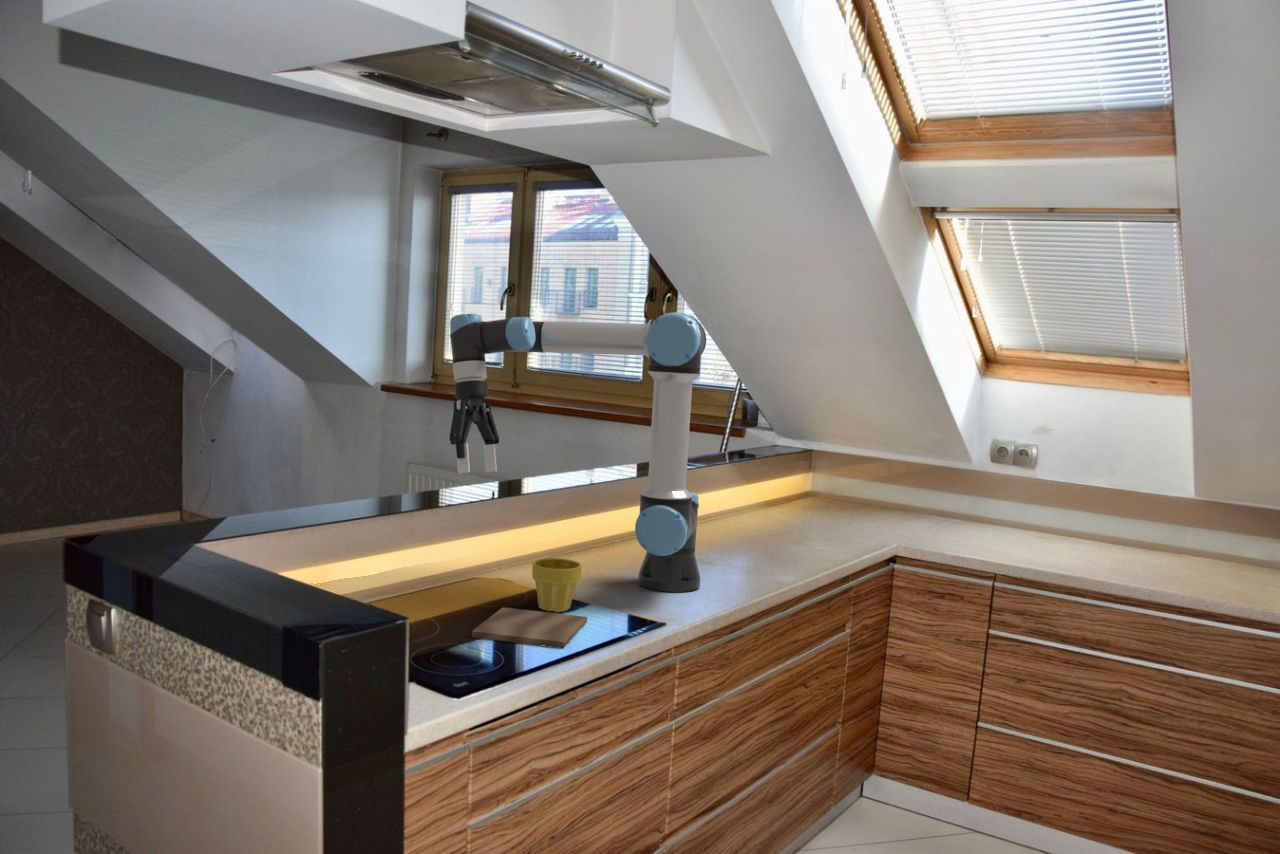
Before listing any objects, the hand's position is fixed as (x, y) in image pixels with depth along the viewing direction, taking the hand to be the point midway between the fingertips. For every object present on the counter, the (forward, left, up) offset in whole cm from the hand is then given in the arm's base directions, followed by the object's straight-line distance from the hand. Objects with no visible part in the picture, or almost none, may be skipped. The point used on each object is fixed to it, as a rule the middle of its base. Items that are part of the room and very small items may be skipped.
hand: (478, 472), depth 220 cm
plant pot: (-24, +14, -26) cm, 38 cm away
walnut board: (-24, +31, -26) cm, 47 cm away
